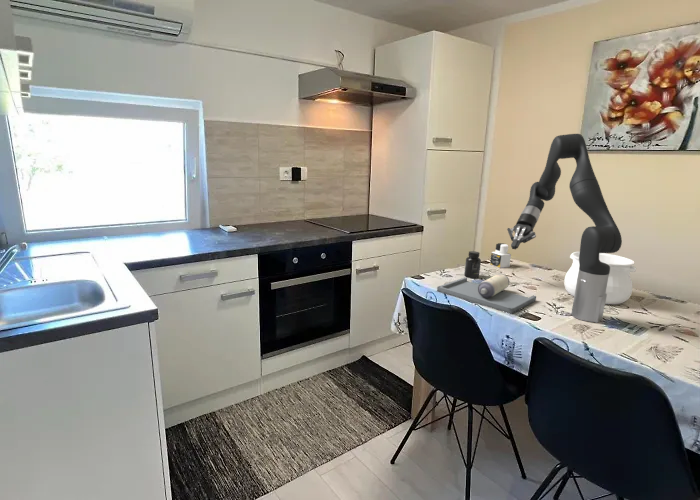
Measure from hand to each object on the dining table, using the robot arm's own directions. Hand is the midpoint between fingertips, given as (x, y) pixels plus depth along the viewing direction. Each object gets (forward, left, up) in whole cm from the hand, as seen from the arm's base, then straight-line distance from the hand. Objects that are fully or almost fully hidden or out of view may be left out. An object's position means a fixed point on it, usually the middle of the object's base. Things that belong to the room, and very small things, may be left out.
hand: (513, 248), depth 176 cm
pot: (-30, -16, -17) cm, 39 cm away
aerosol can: (-1, +9, -13) cm, 16 cm away
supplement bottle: (+18, +1, -17) cm, 25 cm away
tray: (0, +22, -17) cm, 28 cm away
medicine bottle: (+19, -30, -17) cm, 39 cm away
